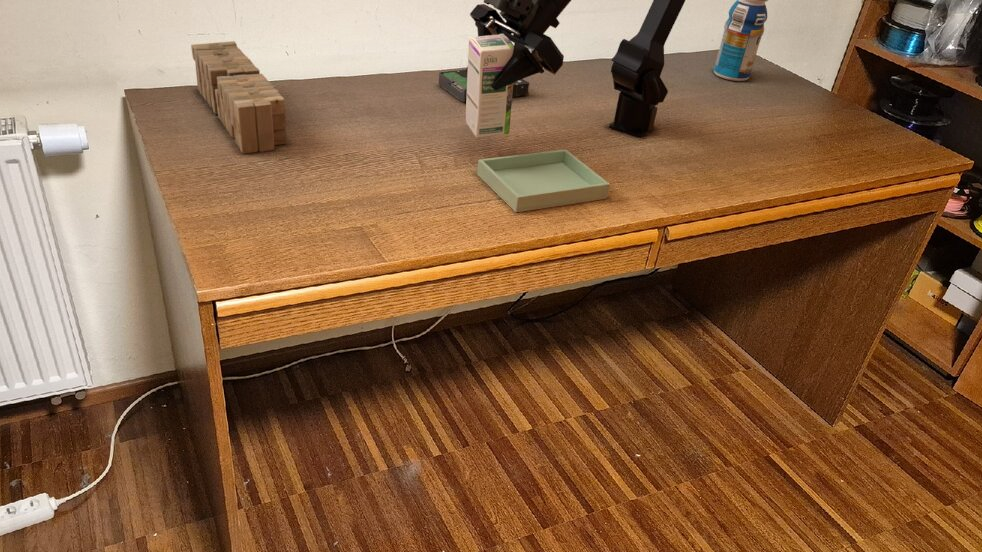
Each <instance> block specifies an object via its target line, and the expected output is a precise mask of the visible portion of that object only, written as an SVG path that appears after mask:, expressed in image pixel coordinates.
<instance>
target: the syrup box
mask: <svg viewBox="0 0 982 552" xmlns="http://www.w3.org/2000/svg"><path fill="white" fill-rule="evenodd" d="M513 49H514V42H512V41H510V40H509V39H508V37H506V36H505V35H504V34H499V35H489V36H478V35H477V36H469V37H468V51H467V66H468V74H467V99H466V102H465V103H466V105H465V122H466V125H467V126H468V127H469V129H470V131H471V132H472V134H473V135H474V137H475V138H476V139H481V138H484V137H485V138H486V137H493V136H501V135H509V134H510V129H511V117H512V104H513V97H512V94H513V83H512V84H510V85H507V86H505V87H503V88H501V89H499V90H496V91H495V90H494V89H493V88H492V87H491V85H492V83H493V82H494V80H495V79H496V77H497V76H498V74H499V73H500V72H501V70H502V69H503V68H504V66H505V65H506V64H507V62H508V61H509V60H510V58H511V57H512V55H513Z"/></svg>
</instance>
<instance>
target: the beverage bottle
mask: <svg viewBox="0 0 982 552" xmlns="http://www.w3.org/2000/svg"><path fill="white" fill-rule="evenodd" d="M768 1H769V0H735V2H734V3H733V4H732V5H731V7H730V8H729V10H728V18H727V20H725V22H724V26H723V29H724V30H723V33H722V37H721V42H720V45H719V48H718V53H717V56H716V60H715V63H714V67H713V73H714V75H715V76H717V77H719V78H721V79H724V80H727V81H733V82H745V81H747V80H749V79H750V77H751V74H752V70H753V66H754V63H755V60H756V56H757V53H758V50H759V46H760V43H761V41H762V36H763V35H764V32H765V23H766V21H767V20H768V7H767V5H766V2H768Z"/></svg>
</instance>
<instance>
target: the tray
mask: <svg viewBox="0 0 982 552" xmlns="http://www.w3.org/2000/svg"><path fill="white" fill-rule="evenodd" d="M476 175H477V176H478V178H480V179H481V180H482V181H483V182H484V183H485V184H486V185H487V186H488V187H489V188H490V189H491V190H492V191H493V192H495V194H497V196H499V198H500V199H501V200H502V201H503V202H505V204H507V205H508V206H509V207H510V208H511V209H512V210H513V211H514V212H515V213H521V212H528V211H534V210H541V209H547V208H555V207H561V206H568V205H575V204H580V203H587V202H594V201H600V200H607V199H608V196H609V191H610V186H611V184H610V182H608V181H607V180H606V179H605V178H603V177H602V176H600V175H599V174H598V173H597V172H595V170H593V169H592V168H591V167H589V166H587V164H585V163H584V162H582V161H581V160H580V159H579V158H578V157H577V156H575V155H574V154H572V153H571V151H569V150H568V149H558V150H557V149H556V150H547V151H540V152H531V153H524V154H523V153H522V154H515V155H507V156H498V157H490V158H481V159H478V160H477V169H476Z"/></svg>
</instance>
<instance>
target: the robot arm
mask: <svg viewBox="0 0 982 552" xmlns="http://www.w3.org/2000/svg"><path fill="white" fill-rule="evenodd" d="M571 2H572V0H483V3H480V4H476V6H475V7H473V9H472V11H471V12H470V13H469V16H470V17H471V19H472V20H473V21H474V25H475V27H476V29H477V37H478V36H489V35H499V34H504V35H505V36H506V37H508V39H509V40H510V41H511V42H512V43H513V45H514V49H513V55H512V57H511V58H510V60H509V61H508V62H507V64H506V65H505V66H504V68H503V69H502V70H501V72H500V73H499V74H498V76H497V77H496V79H495V80H494V82H493V83H492V85H491V87H492V88H493V89H494V90H495V91H496V90H499V89H501V88H503V87H505V86H507V85H510V84H512V83H514V82H516V81H519V80H521V79H523V80H524V79H526V78H528V77H529V78H530V77H531V76H534V75H537V74H544V73H545V71H548V72H549V73H550V74H553V75H556V74H557V73H558V71H559V70H560V69H561V68H562V67H563V65H564V58H565V56H564V54H563V53H562V52H561V51H560V49H559V47H558V46H557V45H556V43H555V42H554V40H553V38H552V37H550V36H548V35H547V34H545V33H546V32H547V31H548V29H549V28H550V27H551V28H554V29H557V28H558V26H559V25H560V24H561V22H560V21H559V20H558V17H559V16H560V15H561V14H562V12H563V11H564V10H565V9H566V7H568V6H569V4H570V3H571ZM685 3H686V0H652V2H651V5H650V7H649V9H648V11H647V14H646V16H645V18H644V20H643V22H642V24H641V26H640V29H639V31H638V32H637V33H636V34H635V35H634V36H633V37H632V38H631V39H629V40H628V39H626V38H623V39H621V41H620V42H619V45H618V48H617V51H616V53H615V55H614V56H613V57H612V58H611V62H612V64H611V68H610V72H611V76H612V81H613V82H612V83H613V90H615V91H618V92H619V93H618V98H617V103H616V107H615V108H616V109H615V113H614V119H613V121H612V122H611V123H610V124H609V126H608V127H609V128H610V129H614V130H615V131H619V132H623V133H626V134H628V135H631V136H635V137H636V138H637V137H638V138H641V137H643V136H644V135H646V134H648V133H649V132H650V131H652V130H653V129H654V128H655V122H656V117H657V112H658V105H659V104H660V103H664V101H665V99H666V97H667V95H668V93H669V90H668V88H667V86H666V85H665V83H664V81H663V79H662V78H661V75H662V72H663V69H664V66H665V45H666V43H667V40H668V38H669V36H670V34H671V32H672V30H673V27H674V25H675V23H676V21H677V19H678V17H679V15H680V13H681V11H682V9H683V7H684V4H685ZM489 5H490V6H489ZM491 6H493V7H491ZM497 10H498V11H499V12H498V11H497ZM465 70H466V72H467V73H468V65H467V66H466V68H465Z"/></svg>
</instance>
